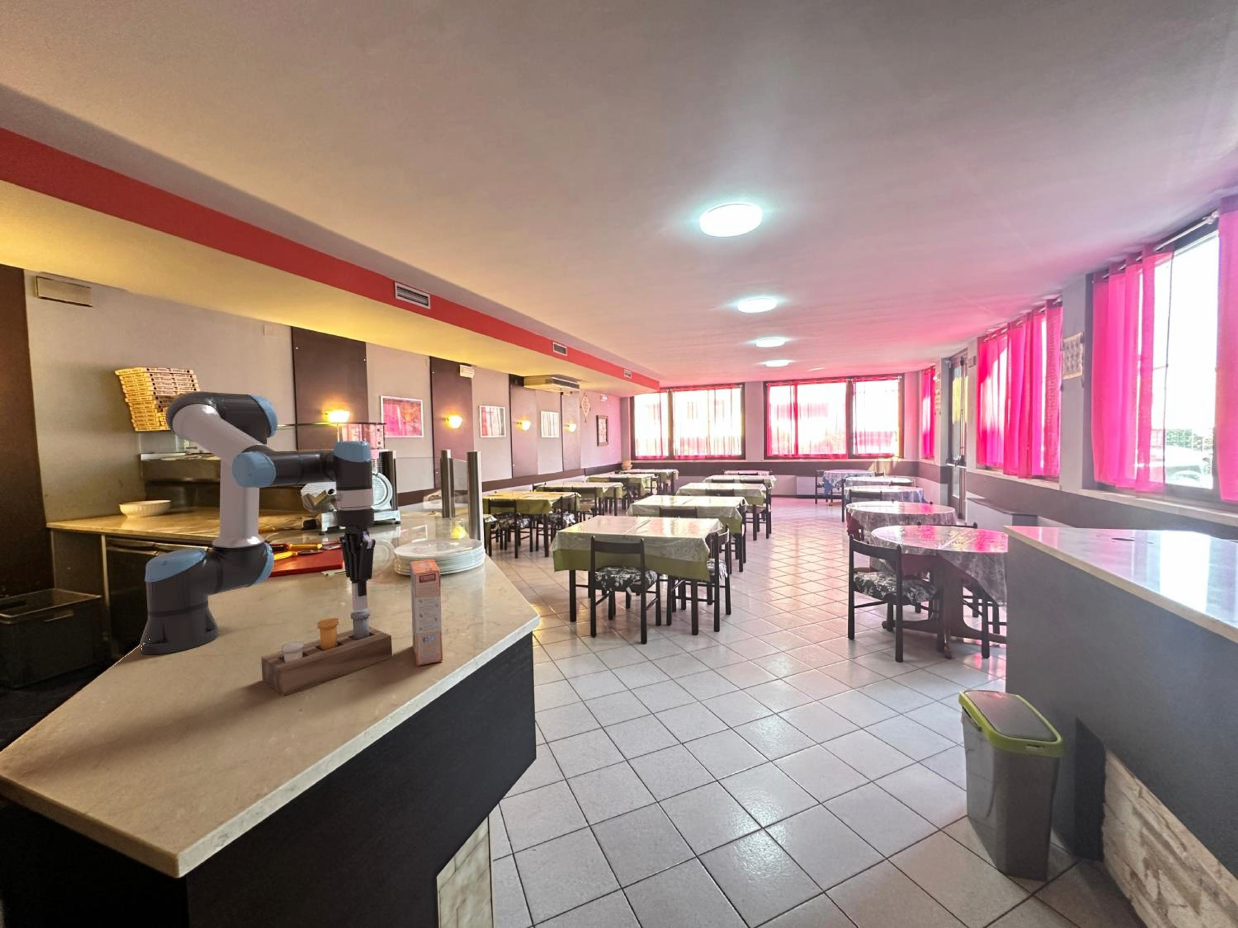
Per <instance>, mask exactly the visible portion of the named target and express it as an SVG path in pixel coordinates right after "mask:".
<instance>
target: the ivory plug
mask: <svg viewBox="0 0 1238 928" xmlns="http://www.w3.org/2000/svg"><path fill="white" fill-rule="evenodd" d="M304 644H305V641H304V640H293V641H290V642H287V643H284V644H283V645H281V651H282V653H284V661H285V663H287V662H291V661H294V660H297V659H300V658H303V655H302V649H303V648H304Z"/></svg>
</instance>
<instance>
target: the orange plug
mask: <svg viewBox="0 0 1238 928" xmlns="http://www.w3.org/2000/svg"><path fill="white" fill-rule="evenodd" d="M316 623H317V629H319V636H320V638H319V639H320V641H321V651H325V650H329V649H332V648H335V647H338V644H337V634H338V627H337V626H339V623H340V621H339V618H338V617H337V618H336V617H330V618H324V619H321V620H319V621H317V622H316Z"/></svg>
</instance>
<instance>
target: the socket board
mask: <svg viewBox="0 0 1238 928" xmlns="http://www.w3.org/2000/svg"><path fill="white" fill-rule="evenodd" d="M392 640H393V639H392V635H390V634H388V633H386V632H384V631H381V630H379V629H376V628H374V627H372V626H369V637H367V638H363V639H360V640H357V641H355V640H354V633H353V629H350V630H347V631H343V632H340V633H339V632H338V633H337V644H338V647H335V648H332V649H329V650H325V651H321V641H320V638H319V639H316V640H313V641H310V642H304V648H303V649H302V655H303V658H300V659H297V660H294V661H291V662H287V663H285V661H284V653H282V650H279V651H276V652H272V653H269V654H266V655H263V656H260V657H261V659H260V660H261V679H262V681H263V682H265V683H266V684H267V685H268V686H270V688H272V689H274V690H275V691H276V692H277V693H278V694H280V695H282V696H283V697H285V696H288V695H291V694H293V693H296V692H299V691H302V690H304V689H307V688H309V687H312V686H315V685H318V684H321V683H324V682H326V681H327V682H328V681H330V680H332V679H335V678H337V677H340V676H343V675H347V674H348V673H352V672H354V671H357V670H361V669H363V668H366V667H368V666H372V665H375V664H377V663H379V662H382V661H385V660H388V659H391V658H393V645H392V643H393V642H392Z"/></svg>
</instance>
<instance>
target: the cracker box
mask: <svg viewBox="0 0 1238 928" xmlns="http://www.w3.org/2000/svg"><path fill="white" fill-rule="evenodd" d="M409 564H410V565H409V568H410V570H409V571H410V594H411V595H410V596H411V622H412V623H411V624H412V625H411V627H412V628H411V630H412V631H411V632H412V647H413V648H412V649H413V653H414V658H415V659H414V660H415V664H416V666H417V667H419V666H424V665H428V664H434V663H439V662H443V660H444V659H443V658H444V657H443V653H444V652H443V627H442V624H443V623H442V620H443V619H442V598H441V596H442V595H441V594H442V590H441V581H442V580H441V570H440V568H439V566H438V565H437V563H436V561H435V559H432V558H431V559H429V558H428V559H421V560H414V561H413V560H412V561H410V563H409Z"/></svg>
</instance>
